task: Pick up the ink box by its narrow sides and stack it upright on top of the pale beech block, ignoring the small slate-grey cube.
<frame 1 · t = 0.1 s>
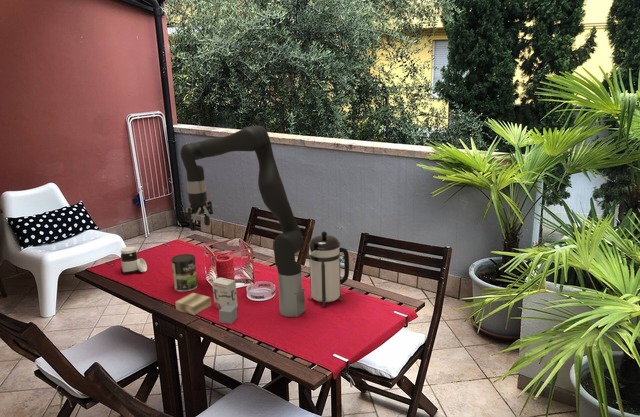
hand: (200, 227, 218), 29 cm above the table, fingers open, 8 cm apart
coffee press: (327, 299, 214), on the table
slate cube: (228, 320, 198), on the table
ink box: (226, 308, 209), on the table
beech block: (193, 308, 210), on the table
spread jar: (135, 271, 251), on the table
coffee can: (186, 287, 230), on the table
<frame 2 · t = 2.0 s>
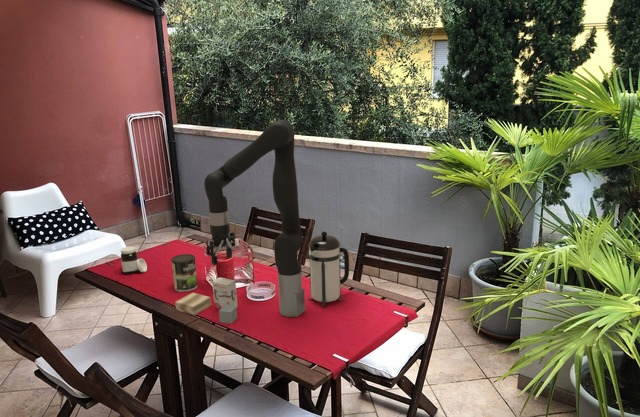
hand: (222, 261, 203), 20 cm above the table, fingers open, 8 cm apart
nothing on the table moved.
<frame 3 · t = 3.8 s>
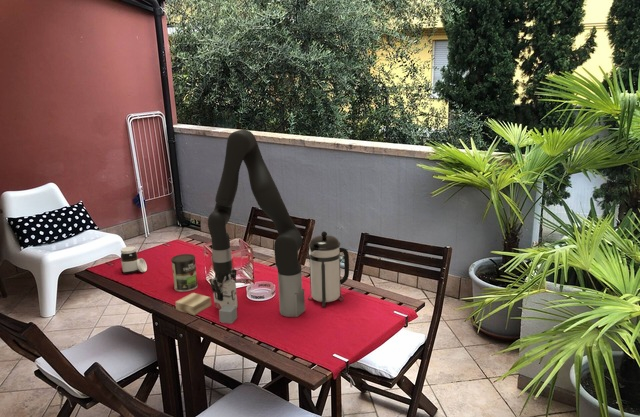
hand: (225, 297, 207), 4 cm above the table, fingers closed on ink box, 5 cm apart
ink box: (226, 308, 209), on the table, touching gripper
everything else where it was.
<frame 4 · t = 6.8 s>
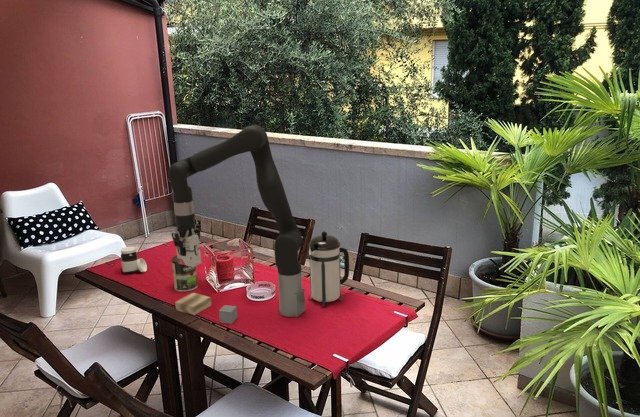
hand: (188, 253, 203), 24 cm above the table, fingers closed on ink box, 5 cm apart
ink box: (189, 264, 205), point 19 cm above the table, touching gripper
everything else where it was.
when the fingers open (9 cm above the table, at t = 9.7 s): ink box drops 1 cm, resting on beech block.
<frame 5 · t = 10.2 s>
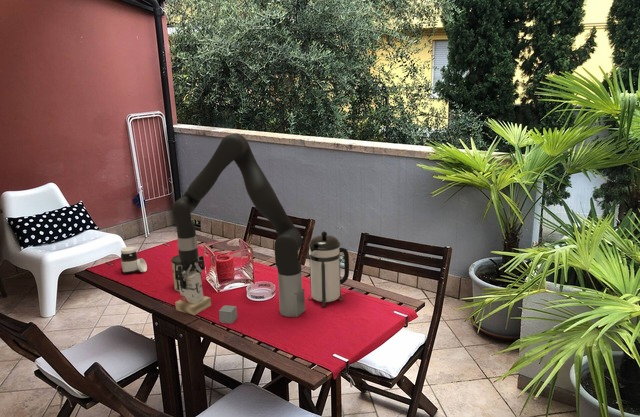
hand: (191, 284, 207), 10 cm above the table, fingers open, 8 cm apart
ink box: (192, 300, 208), point 3 cm above the table, touching beech block
beech block: (193, 308, 210), on the table, touching ink box
everything else where it was.
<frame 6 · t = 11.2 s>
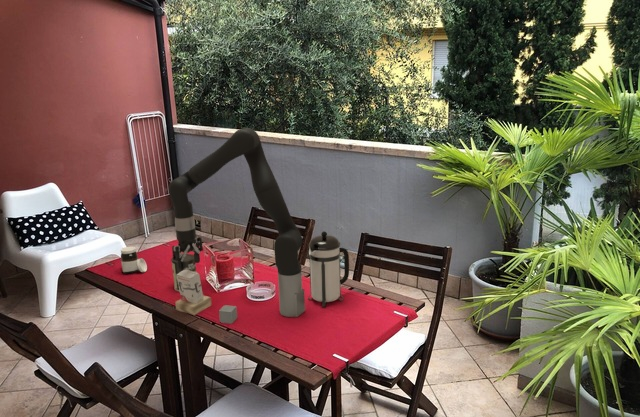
hand: (189, 266, 205), 18 cm above the table, fingers open, 8 cm apart
nothing on the table moved.
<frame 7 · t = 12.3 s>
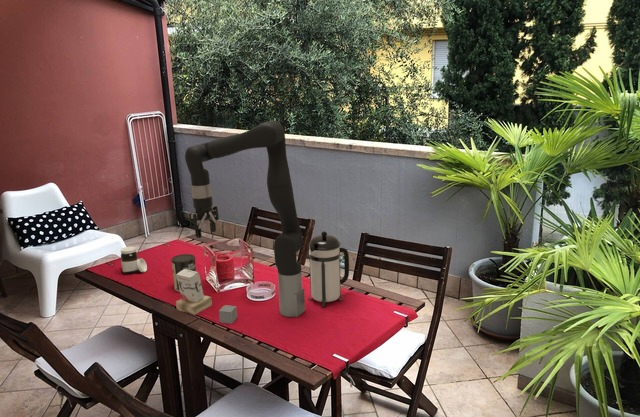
hand: (206, 234, 206), 30 cm above the table, fingers open, 8 cm apart
ink box: (192, 299, 209), point 4 cm above the table
beech block: (194, 308, 210), on the table
everything else where it was.
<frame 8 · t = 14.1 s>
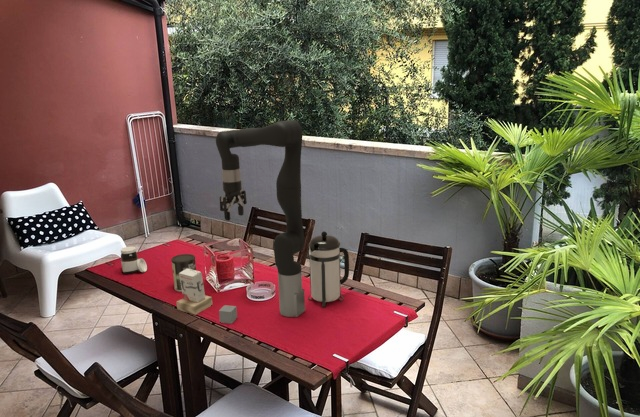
hand: (234, 217, 213), 34 cm above the table, fingers open, 8 cm apart
at the end: ink box inside the target area on the beech block (0.3 cm from its centre), point 3.9 cm above the beech block's base; ink box tilted 2°; the gripper is holding nothing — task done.
